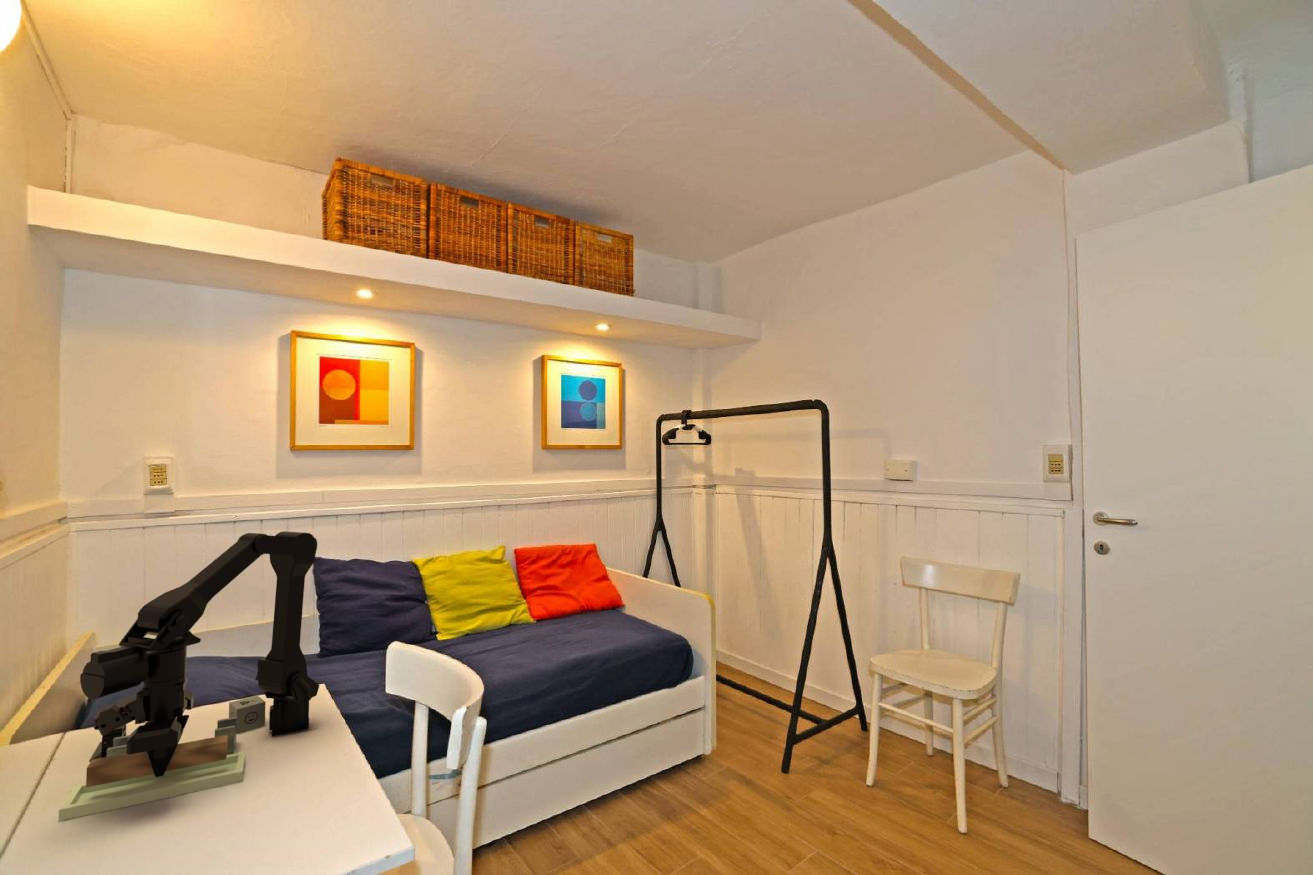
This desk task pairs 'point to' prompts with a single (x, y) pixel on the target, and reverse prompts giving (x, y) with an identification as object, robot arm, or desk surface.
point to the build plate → (108, 742)
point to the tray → (152, 787)
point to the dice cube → (248, 713)
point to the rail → (141, 765)
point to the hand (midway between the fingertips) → (161, 771)
